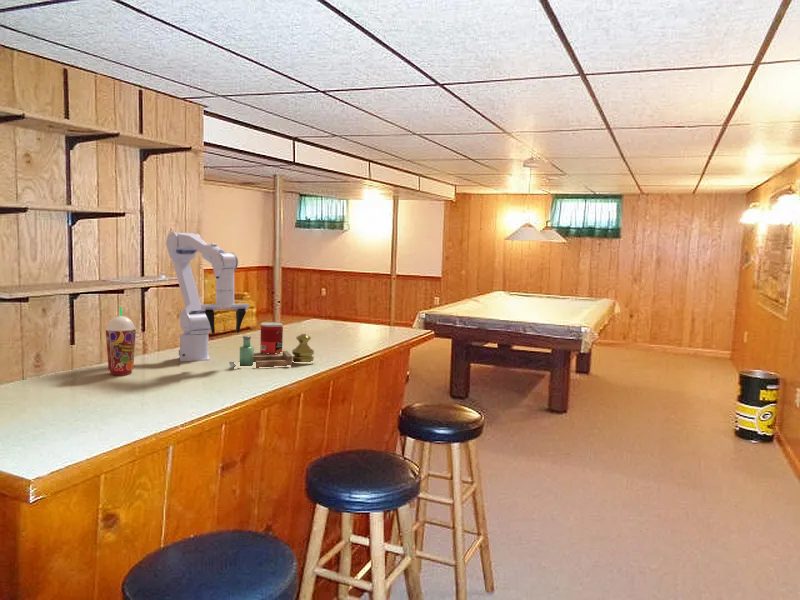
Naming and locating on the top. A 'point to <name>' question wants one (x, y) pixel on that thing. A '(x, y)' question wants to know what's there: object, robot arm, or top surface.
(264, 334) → the canned food
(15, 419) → the top surface
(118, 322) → the smoothie
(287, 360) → the cradle
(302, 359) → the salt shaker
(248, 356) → the bottle
